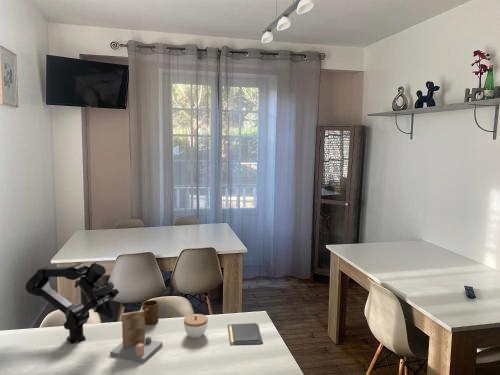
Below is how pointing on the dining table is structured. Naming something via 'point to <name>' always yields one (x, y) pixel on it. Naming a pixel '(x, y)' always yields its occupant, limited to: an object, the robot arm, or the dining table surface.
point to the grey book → (244, 334)
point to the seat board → (132, 351)
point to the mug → (150, 311)
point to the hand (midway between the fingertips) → (112, 317)
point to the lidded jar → (195, 325)
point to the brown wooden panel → (133, 328)
